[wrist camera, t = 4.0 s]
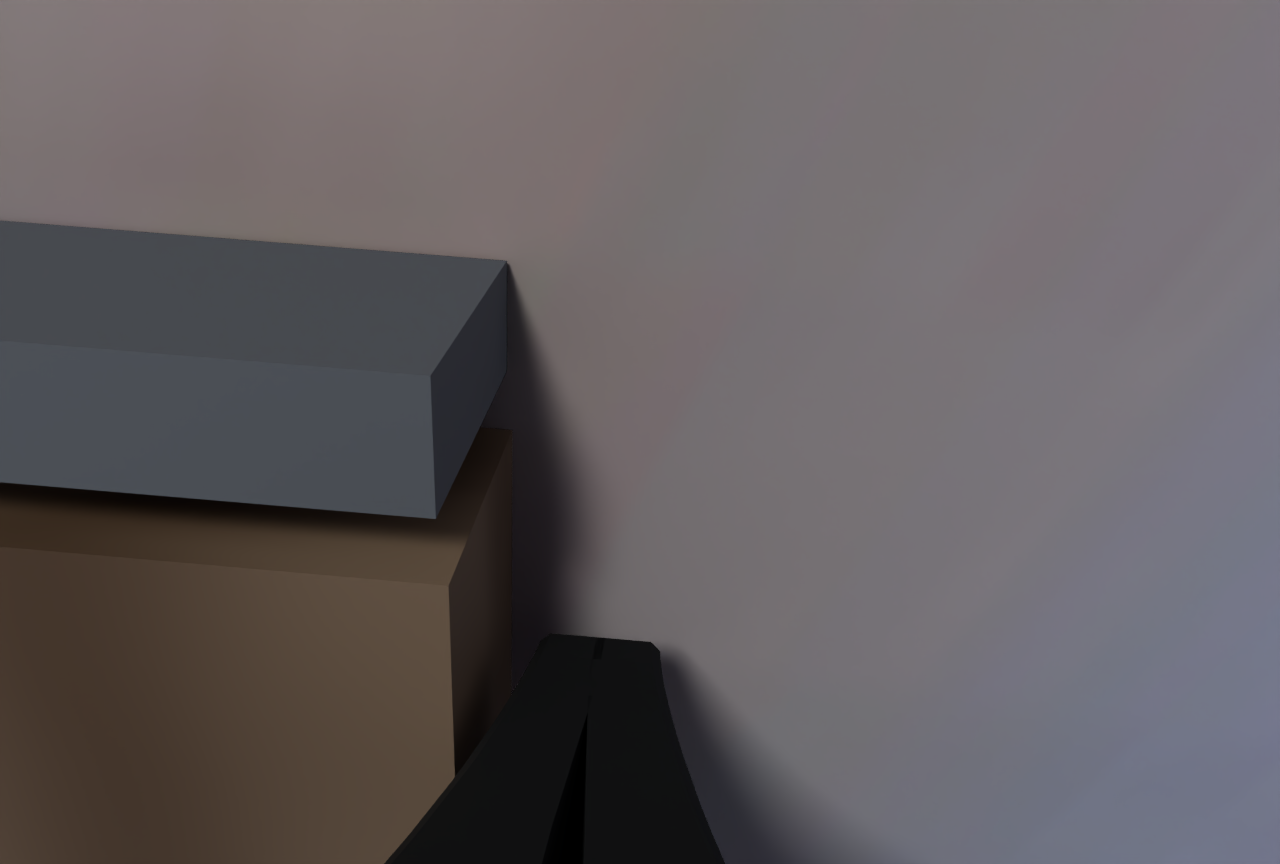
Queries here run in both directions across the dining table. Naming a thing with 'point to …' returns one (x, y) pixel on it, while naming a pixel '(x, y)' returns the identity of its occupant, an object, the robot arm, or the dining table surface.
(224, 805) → the walnut block
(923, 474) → the dining table surface
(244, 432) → the corner jig
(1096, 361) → the dining table surface
